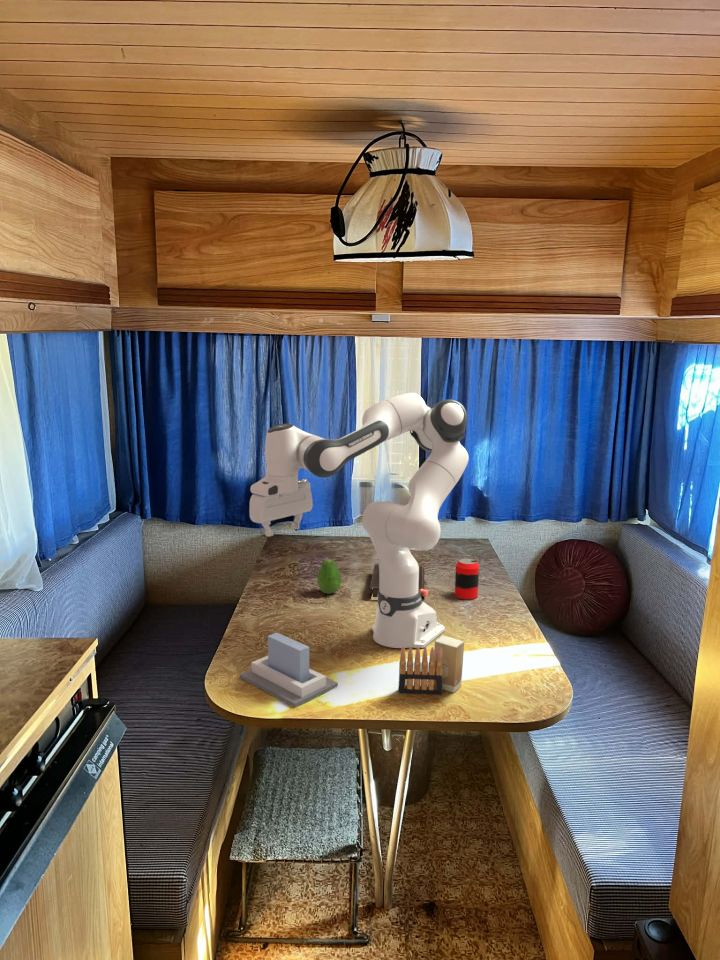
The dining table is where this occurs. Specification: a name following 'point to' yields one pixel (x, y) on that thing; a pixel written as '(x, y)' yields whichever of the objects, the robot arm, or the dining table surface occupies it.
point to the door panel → (288, 657)
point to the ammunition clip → (420, 673)
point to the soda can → (466, 579)
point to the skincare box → (450, 662)
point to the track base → (287, 683)
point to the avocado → (329, 577)
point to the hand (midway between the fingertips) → (282, 532)
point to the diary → (375, 580)
